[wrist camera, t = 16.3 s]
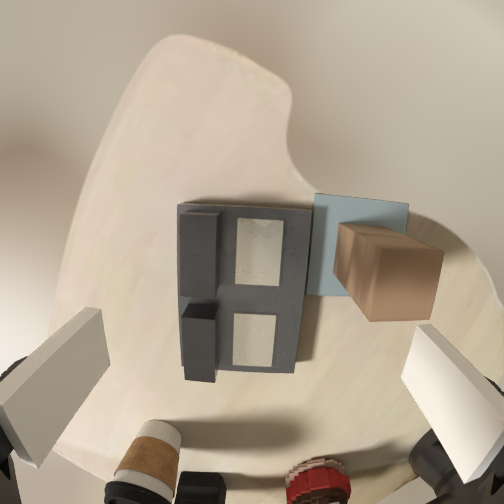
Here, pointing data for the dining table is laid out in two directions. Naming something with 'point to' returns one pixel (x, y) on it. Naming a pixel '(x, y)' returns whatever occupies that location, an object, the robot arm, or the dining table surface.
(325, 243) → the mat
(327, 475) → the cake
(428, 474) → the robot arm
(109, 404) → the dining table surface
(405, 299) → the walnut block
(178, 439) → the coffee cup
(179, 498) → the portable radio
